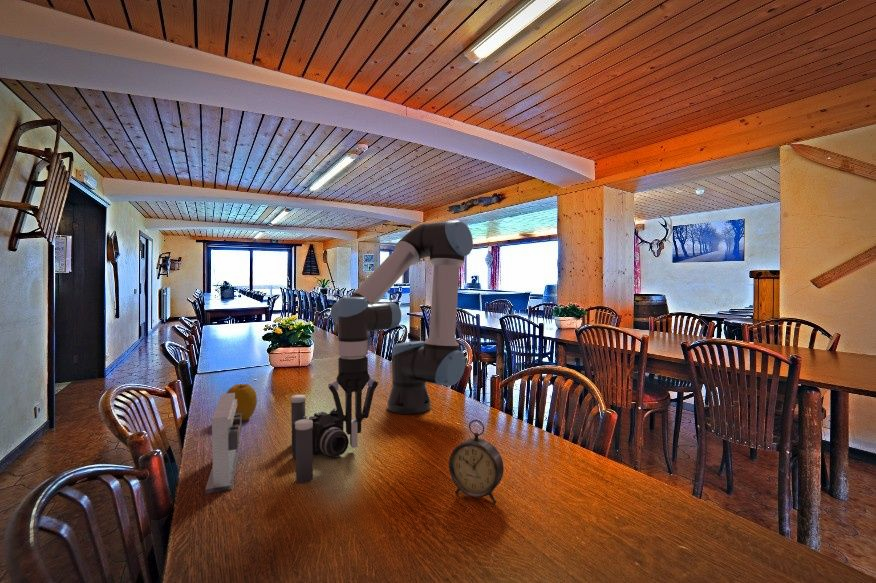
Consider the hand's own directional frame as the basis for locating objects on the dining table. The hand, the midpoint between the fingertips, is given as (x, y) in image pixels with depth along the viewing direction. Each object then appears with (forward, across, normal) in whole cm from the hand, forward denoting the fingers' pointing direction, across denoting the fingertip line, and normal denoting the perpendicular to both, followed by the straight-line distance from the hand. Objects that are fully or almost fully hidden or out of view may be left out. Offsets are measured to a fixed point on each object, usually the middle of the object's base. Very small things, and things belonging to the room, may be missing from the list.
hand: (353, 445), depth 110 cm
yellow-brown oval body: (+2, +29, -38) cm, 48 cm away
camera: (+2, +7, -1) cm, 8 cm away
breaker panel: (+2, +30, 0) cm, 30 cm away
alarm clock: (+2, -20, +32) cm, 38 cm away
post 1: (+2, +13, -11) cm, 17 cm away
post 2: (+2, +13, +11) cm, 17 cm away
